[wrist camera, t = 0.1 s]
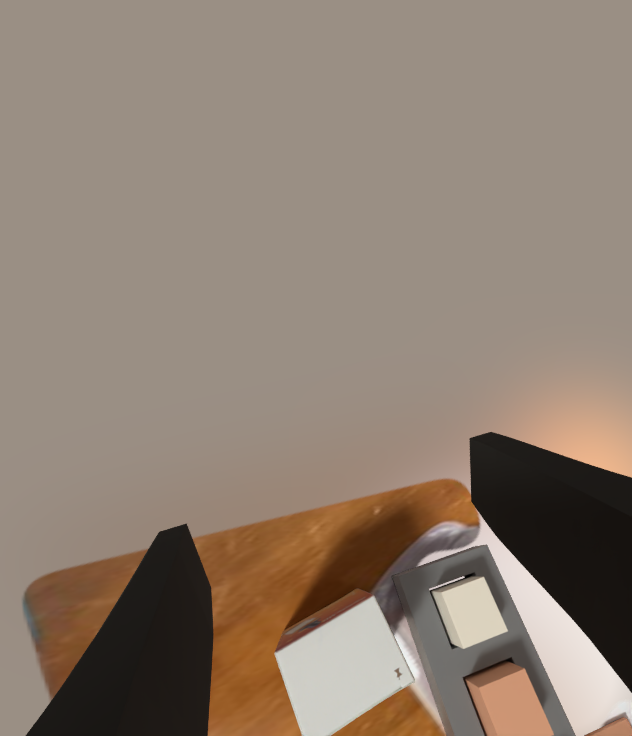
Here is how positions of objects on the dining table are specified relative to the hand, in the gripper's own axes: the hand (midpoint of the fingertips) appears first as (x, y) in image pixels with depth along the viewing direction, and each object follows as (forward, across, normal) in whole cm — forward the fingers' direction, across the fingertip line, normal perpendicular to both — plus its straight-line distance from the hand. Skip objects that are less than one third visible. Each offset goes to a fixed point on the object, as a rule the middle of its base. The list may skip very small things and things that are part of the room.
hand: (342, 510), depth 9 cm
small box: (+16, 0, +29) cm, 33 cm away
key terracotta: (+9, -11, +32) cm, 35 cm away
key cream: (+14, -11, +28) cm, 33 cm away
